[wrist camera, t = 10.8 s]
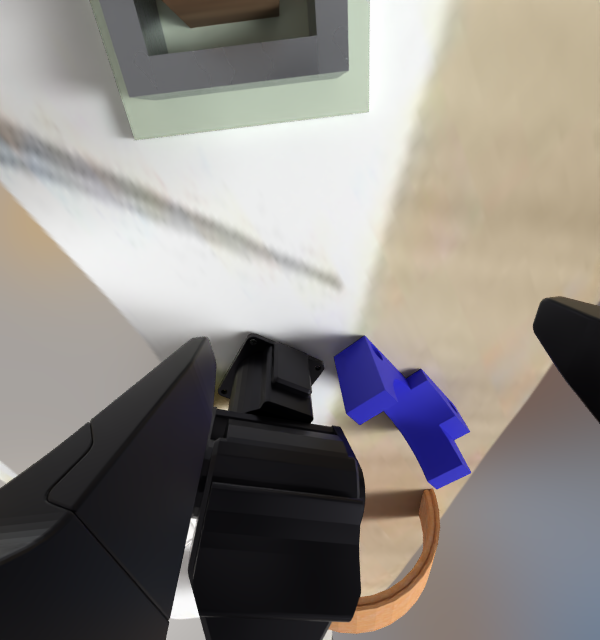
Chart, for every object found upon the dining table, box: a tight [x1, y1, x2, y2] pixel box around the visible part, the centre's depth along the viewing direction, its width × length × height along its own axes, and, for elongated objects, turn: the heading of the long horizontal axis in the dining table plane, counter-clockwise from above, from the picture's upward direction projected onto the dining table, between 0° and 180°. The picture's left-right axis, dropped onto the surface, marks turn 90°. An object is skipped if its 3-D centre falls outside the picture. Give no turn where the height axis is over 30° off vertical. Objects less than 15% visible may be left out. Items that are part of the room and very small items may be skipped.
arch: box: [329, 489, 440, 634], centre depth 34 cm, size 6×20×10 cm, turn 94°
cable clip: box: [334, 336, 471, 489], centre depth 25 cm, size 12×4×6 cm, turn 41°
